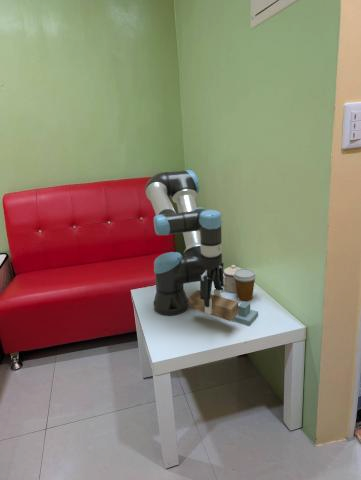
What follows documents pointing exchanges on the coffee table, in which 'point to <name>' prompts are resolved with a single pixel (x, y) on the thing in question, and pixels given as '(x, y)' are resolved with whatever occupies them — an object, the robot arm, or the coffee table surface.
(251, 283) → the disposable coffee cup
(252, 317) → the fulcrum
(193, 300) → the batten
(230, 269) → the teacup with lid
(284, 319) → the coffee table surface
